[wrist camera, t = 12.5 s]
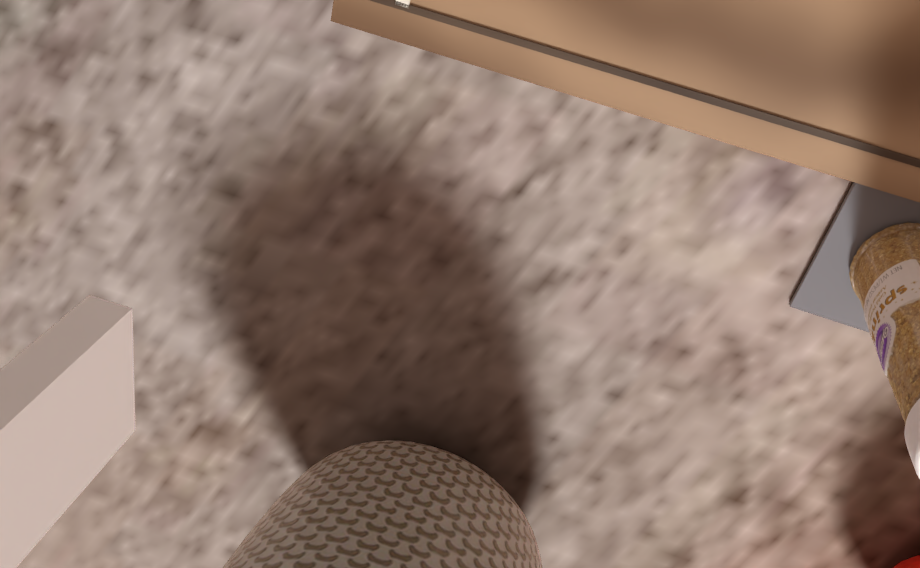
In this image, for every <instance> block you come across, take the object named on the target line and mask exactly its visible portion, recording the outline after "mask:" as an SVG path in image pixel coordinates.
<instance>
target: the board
mask: <svg viewBox="0 0 920 568" xmlns="http://www.w3.org/2000/svg"><path fill="white" fill-rule="evenodd" d="M331 21H333V22H336V23H339V24H342V25H346V26H349V27H352V28H355V29H359V30H362V31H365V32H368V33H372V34H375V35H378V36H381V37H384V38H388V39H391V40H394V41H397V42H401V43H404V44H407V45H410V46H414V47H417V48H420V49H423V50H427V51H430V52H433V53H436V54H440V55H443V56H446V57H449V58H453V59H456V60H459V61H462V62H466V63H469V64H472V65H475V66H479V67H482V68H485V69H488V70H492V71H495V72H498V73H501V74H505V75H508V76H511V77H514V78H517V79H521V80H524V81H527V82H530V83H534V84H537V85H540V86H543V87H547V88H550V89H553V90H556V91H560V92H563V93H566V94H569V95H573V96H576V97H579V98H582V99H586V100H589V101H592V102H595V103H599V104H602V105H605V106H608V107H612V108H615V109H618V110H621V111H625V112H628V113H631V114H634V115H637V116H641V117H644V118H647V119H650V120H654V121H657V122H660V123H663V124H667V125H670V126H673V127H676V128H680V129H683V130H686V131H689V132H693V133H696V134H699V135H702V136H706V137H709V138H712V139H715V140H719V141H722V142H725V143H728V144H732V145H735V146H738V147H741V148H745V149H748V150H751V151H754V152H757V153H761V154H764V155H767V156H770V157H774V158H777V159H780V160H783V161H787V162H790V163H793V164H796V165H800V166H803V167H806V168H809V169H813V170H816V171H819V172H822V173H826V174H829V175H832V176H835V177H839V178H842V179H845V180H848V181H852V182H855V183H858V184H861V185H865V186H868V187H871V188H874V189H877V190H881V191H884V192H887V193H890V194H894V195H897V196H900V197H903V198H907V199H910V200H913V201H916V202H920V0H334V2H333V9H332V16H331Z"/></svg>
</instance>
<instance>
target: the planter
mask: <svg viewBox="0 0 920 568" xmlns="http://www.w3.org/2000/svg"><path fill="white" fill-rule="evenodd" d="M223 568H542V562H541V556H540V553H539V549H538V546H537V542H536V539H535V536H534V533H533V531H532V528H531V526H530V524H529V522H528V520H527V518H526V516H525V515H524V513H523V512H522V510H521V509H520V508H519V506H518V505H517V503H516V502H515V501H514V499H513V498H512V497H511V496H510V495H509V494H508V493H507V492H506V491H505V489H504V488H503V487H502V486H501V485H500V484H499V483H498V482H497V481H495V480H494V479H493V478H492V477H490V476H489V475H488V474H487V473H485V472H484V471H483V470H481V469H480V468H478V467H477V466H475V465H473V464H472V463H470V462H469V461H467V460H465V459H463V458H461V457H459V456H457V455H455V454H453V453H451V452H448V451H445V450H442V449H439V448H436V447H433V446H430V445H425V444H420V443H415V442H409V441H395V440H388V441H373V442H366V443H362V444H357V445H352V446H349V447H347V448H344V449H342V450H339V451H337V452H335V453H333V454H331V455H329V456H327V457H325V458H324V459H322V460H321V461H319V462H318V463H316V464H314V465H313V466H312V467H311V468H309V469H308V470H307V471H305V472H304V473H303V474H302V475H301V476H300V477H299V478H298V479H297V480H296V481H295V482H294V483H293V484H292V485H291V486H290V487H289V488H288V489H287V490H286V491H285V492H284V493H283V494H282V495H281V496H280V497H279V499H278V500H277V501H276V502H275V503H274V504H273V505H272V506H271V508H270V509H269V510H268V511H267V512H266V514H265V515H264V516H263V517H262V518H261V519H260V521H259V522H258V523H257V524H256V525H255V527H254V528H253V529H252V530H251V531H250V533H249V534H248V535H247V536H246V538H245V539H244V540H243V542H242V543H241V544H240V546H239V547H238V548H237V550H236V551H235V552H234V553H233V555H232V556H231V557H230V559H229V560H228V561H227V563H226V564H225V565H224V567H223Z"/></svg>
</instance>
